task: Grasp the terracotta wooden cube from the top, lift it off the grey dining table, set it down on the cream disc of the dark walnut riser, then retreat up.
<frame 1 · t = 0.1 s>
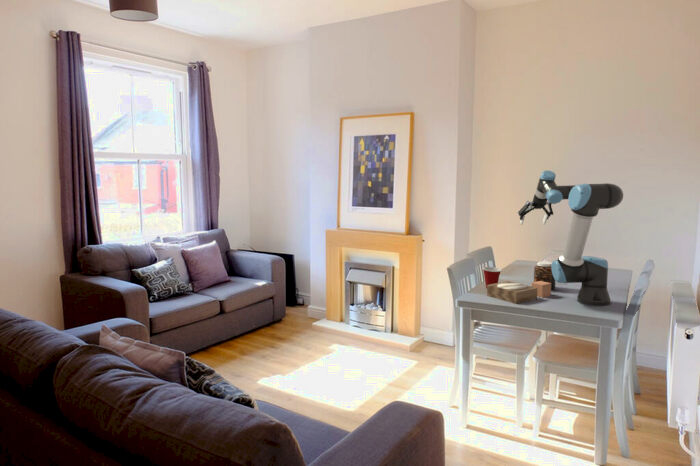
hand: (532, 223, 292), 36 cm above the table, tool tilted 35°, fingers open, 13 cm apart
walnut riser: (511, 297, 263), on the table
jar: (544, 288, 280), on the table
terracotta cube: (541, 295, 265), on the table
plastic cup: (491, 288, 283), on the table
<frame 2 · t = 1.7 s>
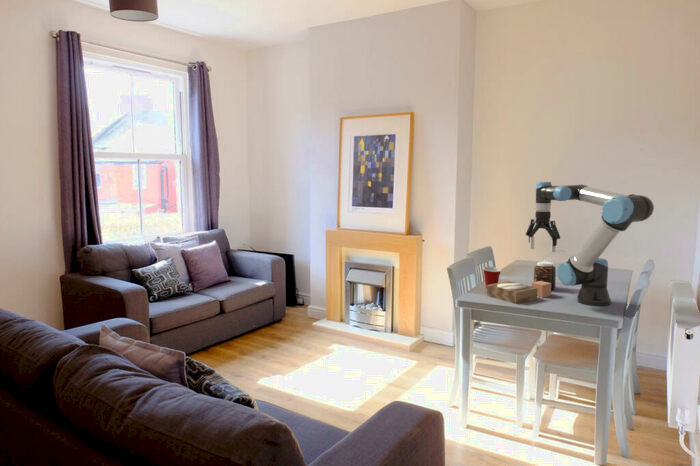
hand: (542, 250, 262), 25 cm above the table, tool pointing down, fingers open, 13 cm apart
nothing on the table moved.
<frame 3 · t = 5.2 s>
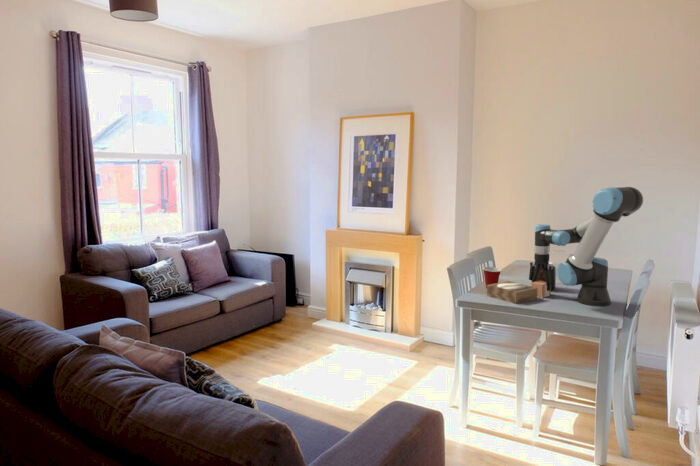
hand: (540, 294, 265), 0 cm above the table, tool pointing down, fingers closed on terracotta cube, 7 cm apart
terracotta cube: (540, 295, 265), on the table, touching gripper
everything else where it was.
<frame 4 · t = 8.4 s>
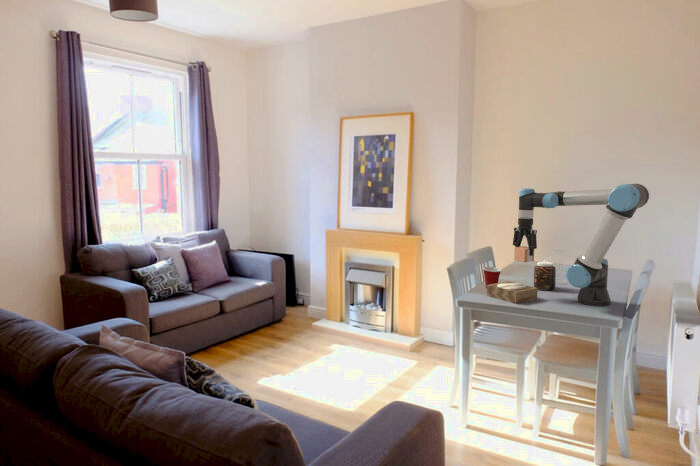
hand: (523, 260, 262), 20 cm above the table, tool pointing down, fingers closed on terracotta cube, 7 cm apart
terracotta cube: (523, 260, 262), point 19 cm above the table, touching gripper
everything else where it was.
when the fingers open (8 cm above the table, at t = 11.7 s): terracotta cube drops 1 cm, resting on walnut riser.
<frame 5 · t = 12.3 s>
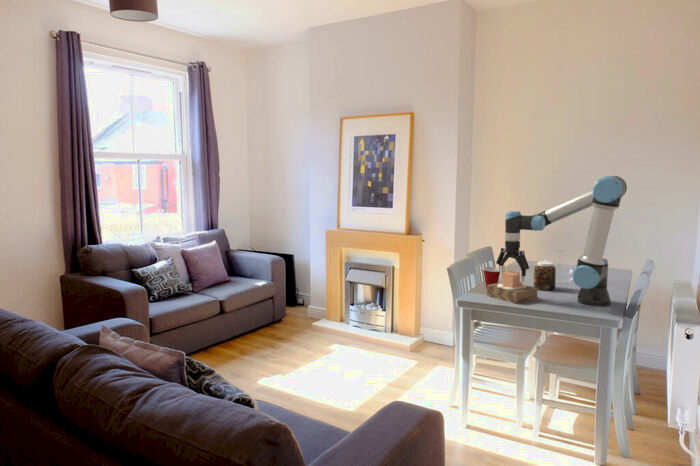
hand: (511, 279, 261), 10 cm above the table, tool pointing down, fingers open, 13 cm apart
terracotta cube: (511, 285, 262), point 6 cm above the table, touching walnut riser
everything else where it was.
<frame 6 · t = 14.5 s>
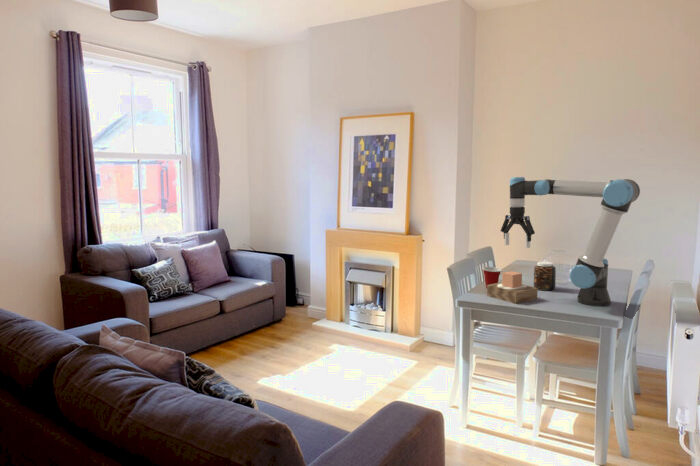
hand: (517, 246, 260), 27 cm above the table, tool pointing down, fingers open, 13 cm apart
nothing on the table moved.
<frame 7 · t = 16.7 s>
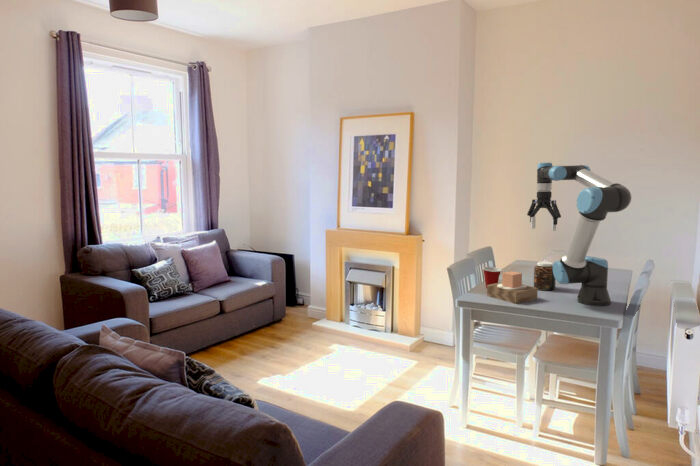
hand: (543, 229, 270), 35 cm above the table, tool pointing down, fingers open, 13 cm apart
nothing on the table moved.
at the end: terracotta cube inside the target area on the walnut riser (0.1 cm from its centre), point 6.3 cm above the walnut riser's base; terracotta cube tilted 0°; the gripper is holding nothing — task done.
